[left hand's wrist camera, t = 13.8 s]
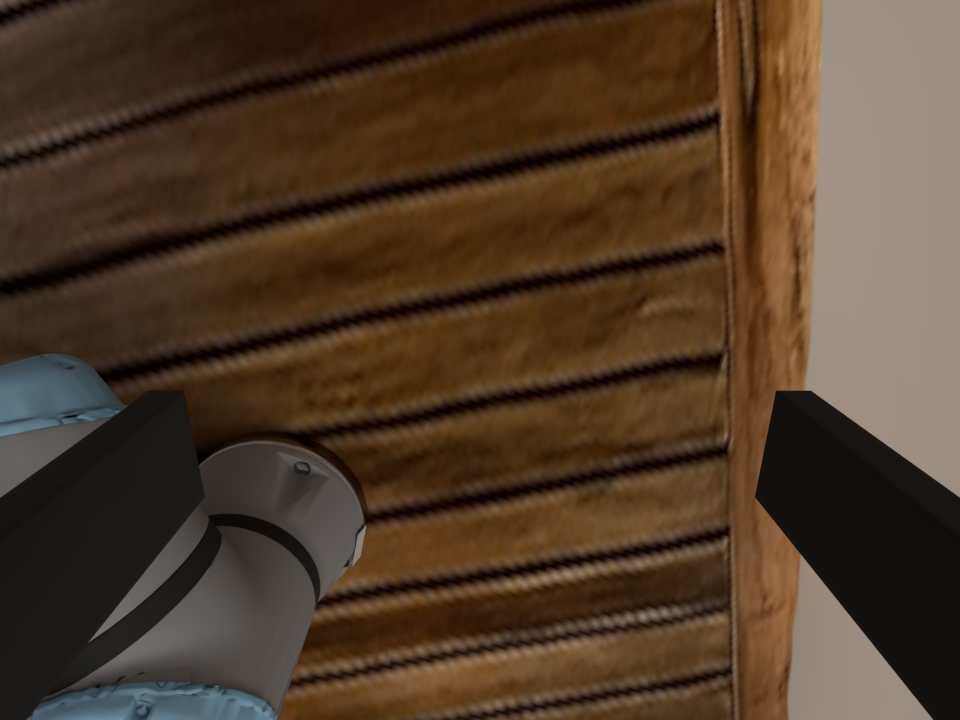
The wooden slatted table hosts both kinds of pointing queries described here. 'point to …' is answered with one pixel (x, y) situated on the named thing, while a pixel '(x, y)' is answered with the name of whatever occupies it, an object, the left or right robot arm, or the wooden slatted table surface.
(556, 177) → the wooden slatted table surface
